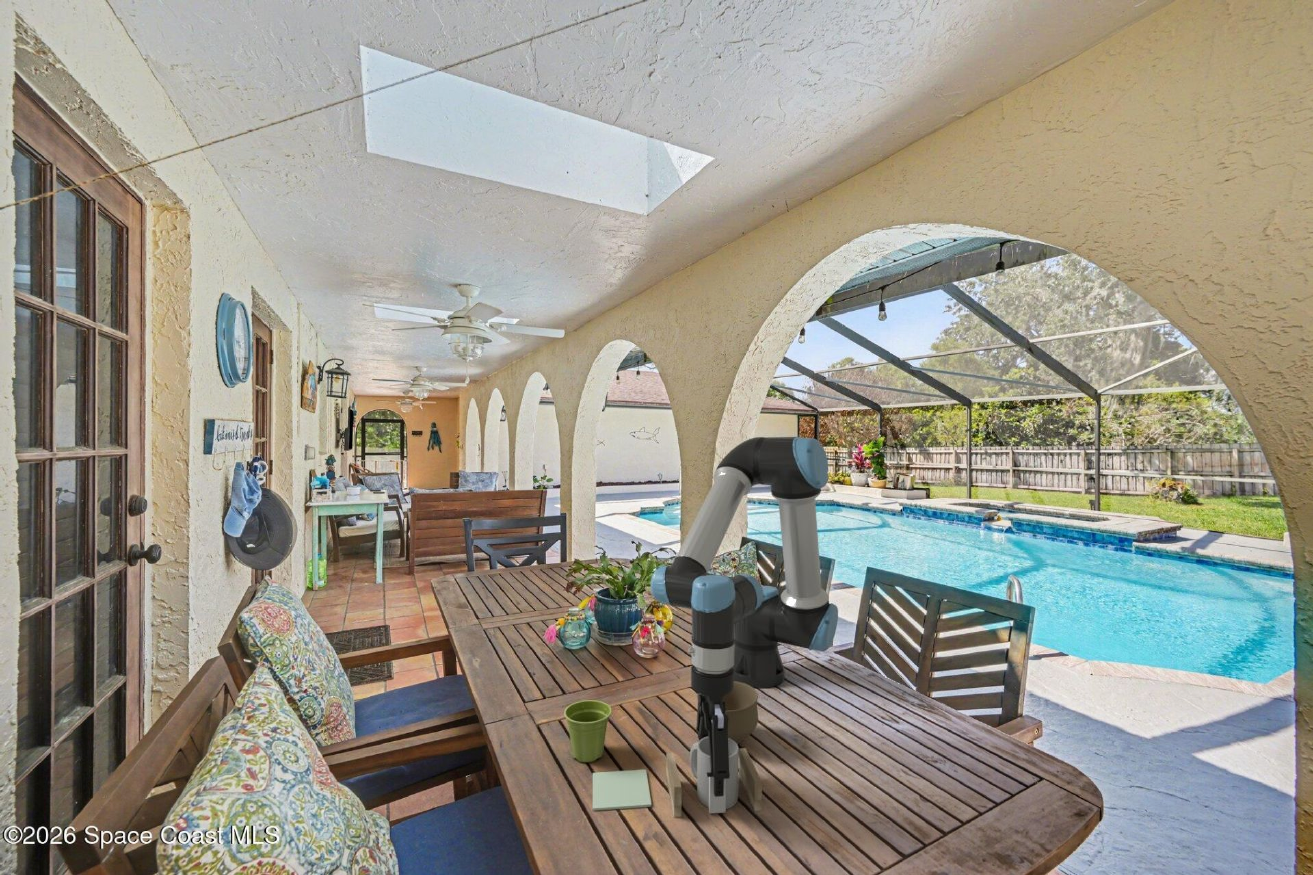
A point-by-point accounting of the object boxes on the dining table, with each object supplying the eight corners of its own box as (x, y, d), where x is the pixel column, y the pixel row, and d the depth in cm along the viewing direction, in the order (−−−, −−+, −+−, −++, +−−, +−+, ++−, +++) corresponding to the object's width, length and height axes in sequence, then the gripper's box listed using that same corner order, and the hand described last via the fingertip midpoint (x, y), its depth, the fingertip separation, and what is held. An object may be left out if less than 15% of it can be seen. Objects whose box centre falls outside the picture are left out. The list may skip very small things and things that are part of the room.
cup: (720, 817, 92) (720, 763, 92) (677, 789, 99) (677, 740, 99) (746, 797, 97) (747, 747, 97) (703, 772, 104) (703, 725, 104)
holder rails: (745, 775, 104) (745, 748, 104) (761, 810, 94) (761, 781, 94) (666, 780, 102) (666, 753, 102) (674, 817, 92) (674, 787, 92)
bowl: (686, 731, 119) (687, 685, 119) (737, 720, 124) (737, 675, 124) (715, 763, 107) (715, 712, 107) (770, 749, 112) (770, 700, 112)
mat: (645, 771, 104) (645, 769, 104) (651, 806, 95) (651, 804, 95) (592, 775, 103) (592, 772, 103) (592, 810, 93) (592, 808, 93)
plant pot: (565, 742, 114) (566, 700, 114) (611, 740, 115) (611, 698, 115) (561, 769, 105) (562, 723, 105) (611, 767, 106) (611, 721, 106)
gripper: (681, 644, 108) (680, 760, 108) (703, 694, 87) (702, 839, 87) (719, 643, 109) (718, 758, 109) (750, 692, 88) (748, 835, 87)
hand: (711, 794), depth 98 cm, fingers open, 8 cm apart
